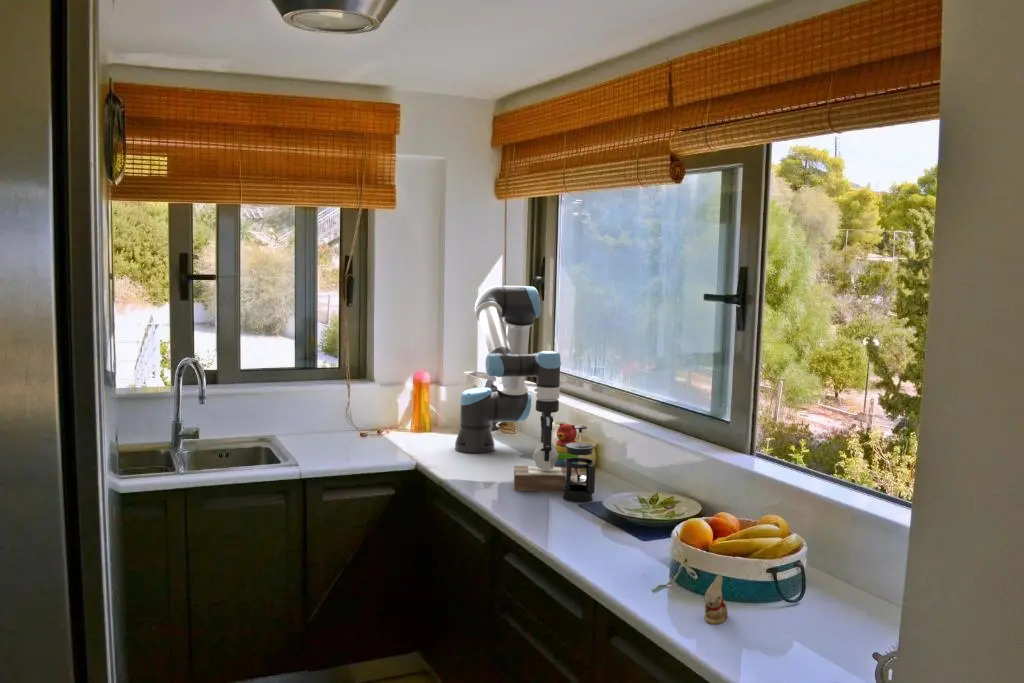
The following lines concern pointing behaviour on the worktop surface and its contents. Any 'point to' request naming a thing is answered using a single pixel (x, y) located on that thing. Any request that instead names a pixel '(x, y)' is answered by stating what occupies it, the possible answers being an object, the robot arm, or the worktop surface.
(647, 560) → the worktop surface
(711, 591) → the chocolate bunny
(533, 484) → the block
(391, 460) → the worktop surface
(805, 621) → the worktop surface
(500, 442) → the worktop surface
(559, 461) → the stacking bear
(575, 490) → the french press
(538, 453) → the die
